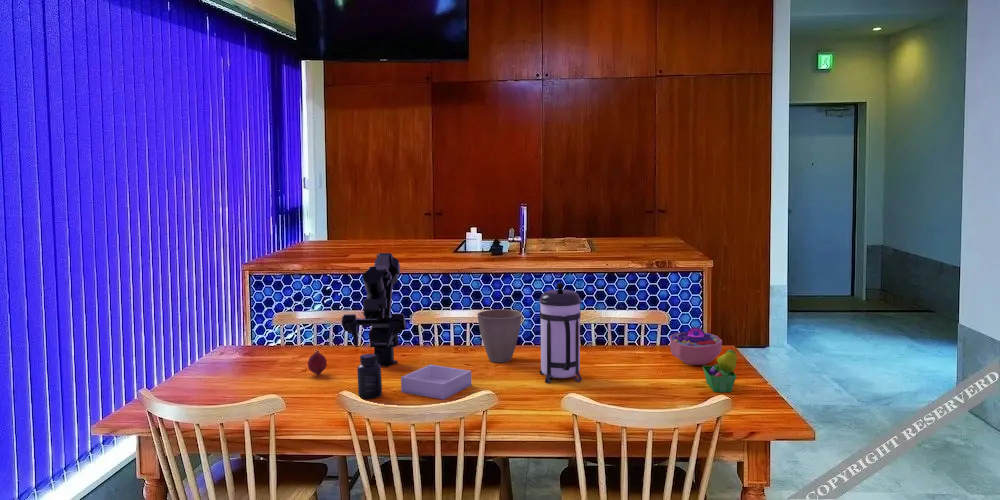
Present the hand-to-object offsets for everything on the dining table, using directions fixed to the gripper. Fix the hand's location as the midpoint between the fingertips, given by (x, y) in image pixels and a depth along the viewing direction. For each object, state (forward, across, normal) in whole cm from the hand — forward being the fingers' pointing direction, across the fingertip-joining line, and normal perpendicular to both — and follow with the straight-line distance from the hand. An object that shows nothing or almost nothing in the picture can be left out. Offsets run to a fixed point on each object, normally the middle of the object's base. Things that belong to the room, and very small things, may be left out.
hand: (371, 346), depth 228 cm
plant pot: (-11, +39, +29) cm, 50 cm away
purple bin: (+10, +19, +8) cm, 23 cm away
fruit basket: (+14, +103, +5) cm, 104 cm away
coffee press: (+6, +57, +13) cm, 59 cm away
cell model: (-5, +103, +23) cm, 105 cm away
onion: (-2, -20, +20) cm, 28 cm away
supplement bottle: (+14, 0, +4) cm, 15 cm away
